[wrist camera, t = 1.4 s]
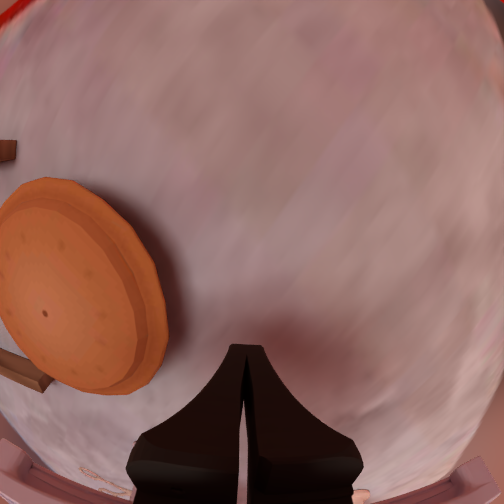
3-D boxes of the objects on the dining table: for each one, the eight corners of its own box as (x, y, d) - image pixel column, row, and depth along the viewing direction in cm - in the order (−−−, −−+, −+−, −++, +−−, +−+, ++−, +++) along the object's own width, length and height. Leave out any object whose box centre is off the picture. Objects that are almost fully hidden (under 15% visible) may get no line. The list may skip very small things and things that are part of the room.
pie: (1, 196, 16) (-40, 206, 11) (165, 156, 16) (133, 151, 11) (46, 359, 20) (20, 389, 15) (198, 372, 20) (187, 419, 15)
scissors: (68, 463, 26) (192, 493, 26) (70, 460, 27) (193, 489, 26) (95, 493, 29) (205, 516, 29) (96, 490, 30) (205, 512, 29)
